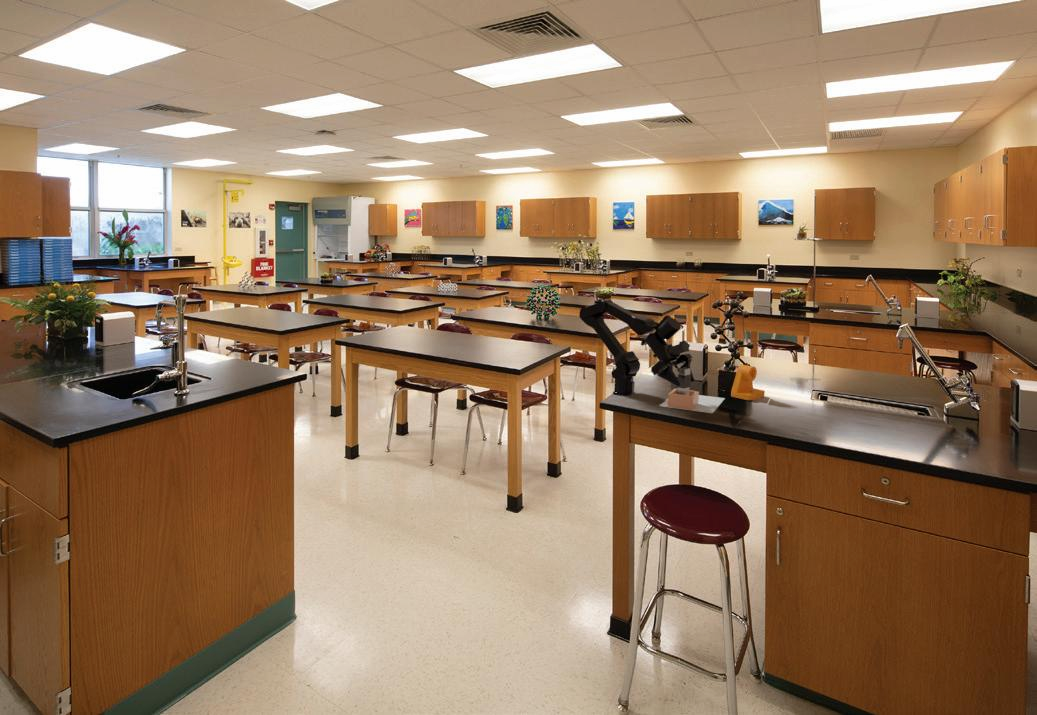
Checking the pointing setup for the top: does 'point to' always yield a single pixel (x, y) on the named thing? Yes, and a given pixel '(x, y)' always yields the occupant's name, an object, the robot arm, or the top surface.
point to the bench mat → (702, 404)
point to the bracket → (746, 384)
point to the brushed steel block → (684, 381)
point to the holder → (683, 399)
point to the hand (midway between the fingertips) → (686, 383)
